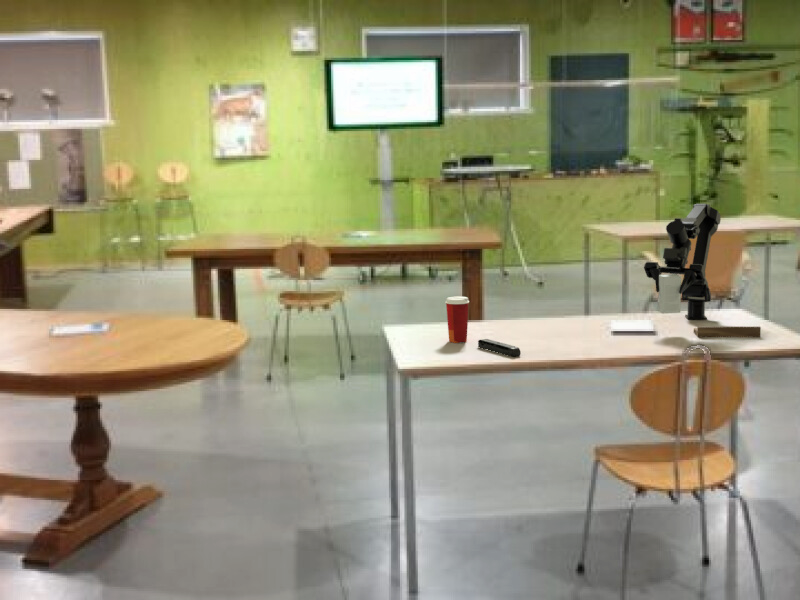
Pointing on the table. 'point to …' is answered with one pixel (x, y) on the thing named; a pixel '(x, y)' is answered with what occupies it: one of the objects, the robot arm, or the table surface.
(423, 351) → the table surface
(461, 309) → the paper cup
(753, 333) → the brown angular block
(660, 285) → the skincare box
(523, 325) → the table surface
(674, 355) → the table surface
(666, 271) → the robot arm
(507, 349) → the black long bar
